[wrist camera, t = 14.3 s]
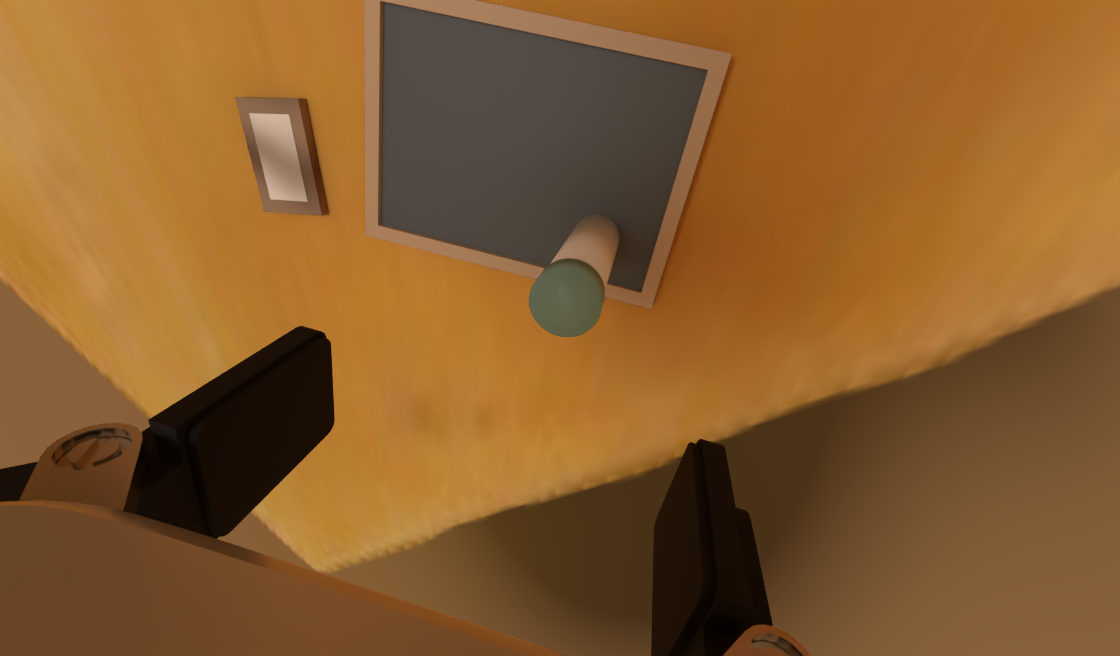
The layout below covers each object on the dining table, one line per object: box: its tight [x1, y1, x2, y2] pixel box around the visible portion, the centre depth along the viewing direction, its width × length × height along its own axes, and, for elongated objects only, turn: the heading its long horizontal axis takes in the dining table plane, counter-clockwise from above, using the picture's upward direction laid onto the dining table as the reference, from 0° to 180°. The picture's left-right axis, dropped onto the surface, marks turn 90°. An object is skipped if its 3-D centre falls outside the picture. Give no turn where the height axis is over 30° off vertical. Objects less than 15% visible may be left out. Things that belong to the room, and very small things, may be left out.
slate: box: [365, 0, 732, 309], centre depth 31 cm, size 16×22×1 cm
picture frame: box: [235, 97, 328, 216], centre depth 34 cm, size 8×5×1 cm, turn 179°
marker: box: [529, 214, 620, 337], centre depth 27 cm, size 3×3×12 cm
